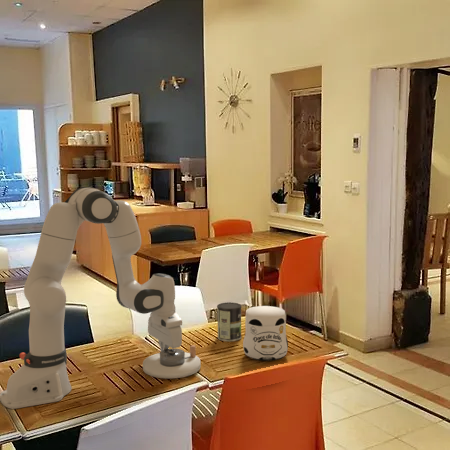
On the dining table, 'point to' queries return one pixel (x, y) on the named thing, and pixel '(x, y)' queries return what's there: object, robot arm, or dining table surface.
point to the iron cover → (172, 357)
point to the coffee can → (229, 321)
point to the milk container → (265, 333)
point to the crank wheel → (157, 370)
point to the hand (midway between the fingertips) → (164, 352)
